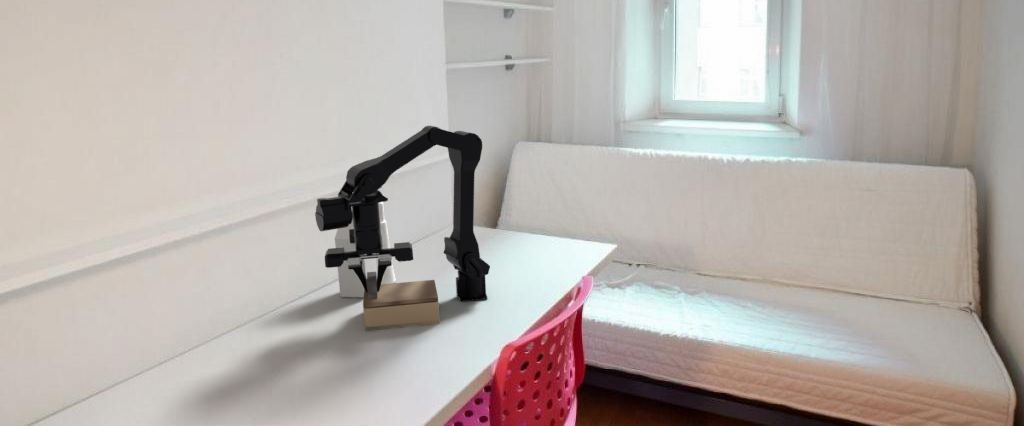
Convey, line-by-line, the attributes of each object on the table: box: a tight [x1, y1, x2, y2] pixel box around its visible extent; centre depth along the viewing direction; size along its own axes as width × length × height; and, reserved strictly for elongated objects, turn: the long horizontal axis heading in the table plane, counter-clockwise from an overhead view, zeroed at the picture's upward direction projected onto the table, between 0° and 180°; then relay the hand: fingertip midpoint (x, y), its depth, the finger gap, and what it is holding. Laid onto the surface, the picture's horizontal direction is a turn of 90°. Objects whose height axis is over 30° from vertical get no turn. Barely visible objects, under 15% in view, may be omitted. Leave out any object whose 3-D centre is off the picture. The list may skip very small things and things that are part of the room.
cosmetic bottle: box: [376, 202, 397, 284], centre depth 184 cm, size 6×6×22 cm
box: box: [362, 300, 441, 332], centre depth 161 cm, size 16×12×5 cm
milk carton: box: [334, 220, 377, 299], centre depth 176 cm, size 7×7×19 cm
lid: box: [362, 272, 439, 308], centre depth 160 cm, size 16×12×5 cm
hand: (372, 291), depth 160 cm, fingers closed on lid, 2 cm apart
